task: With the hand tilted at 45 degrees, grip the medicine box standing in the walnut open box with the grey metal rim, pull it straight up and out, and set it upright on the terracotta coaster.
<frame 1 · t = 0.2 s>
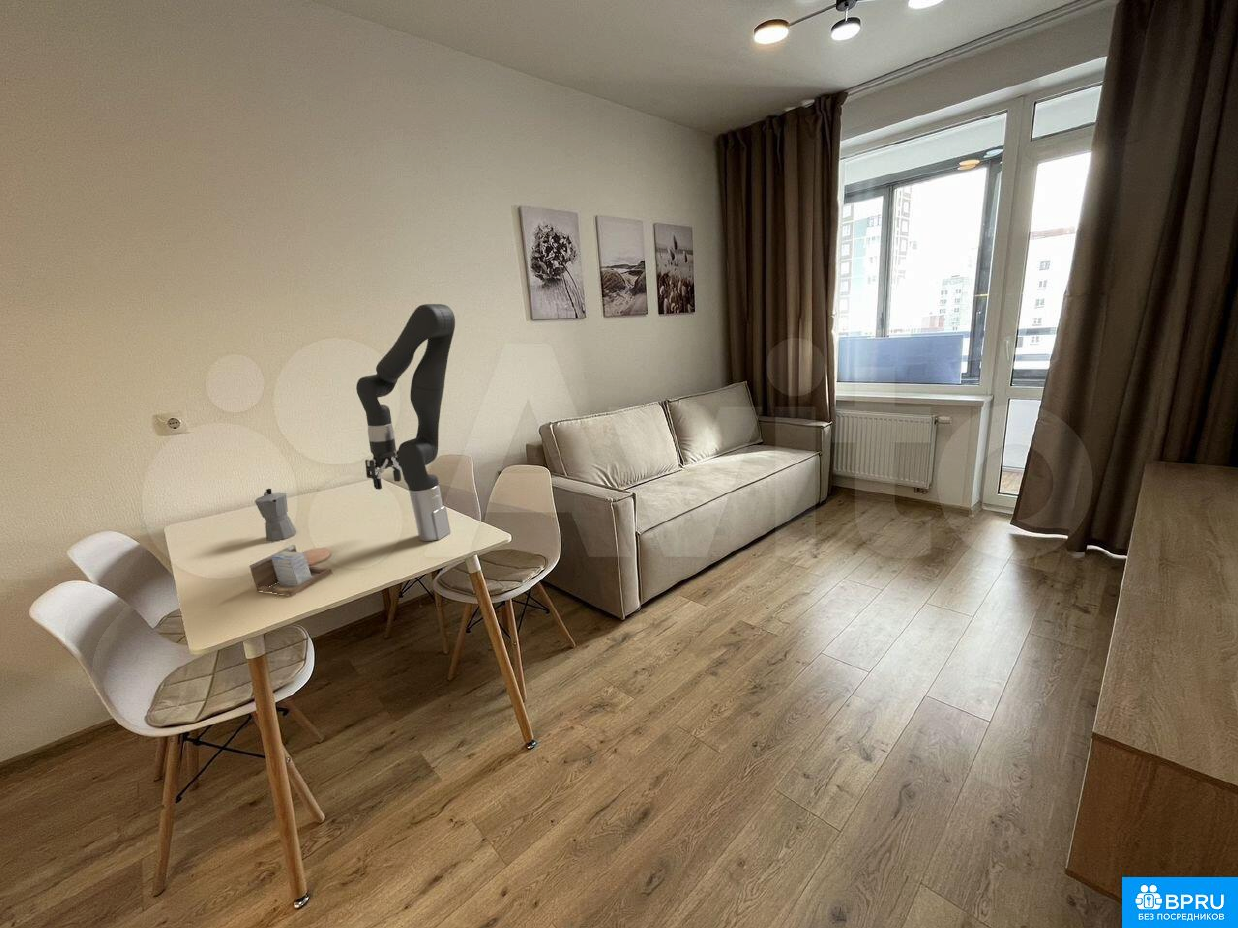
hand: (388, 485, 168), 18 cm above the table, tool pointing down, fingers open, 8 cm apart
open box: (295, 582, 144), on the table
coffeepot: (281, 536, 181), on the table
medicine box: (296, 583, 144), resting in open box
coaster: (309, 559, 159), on the table
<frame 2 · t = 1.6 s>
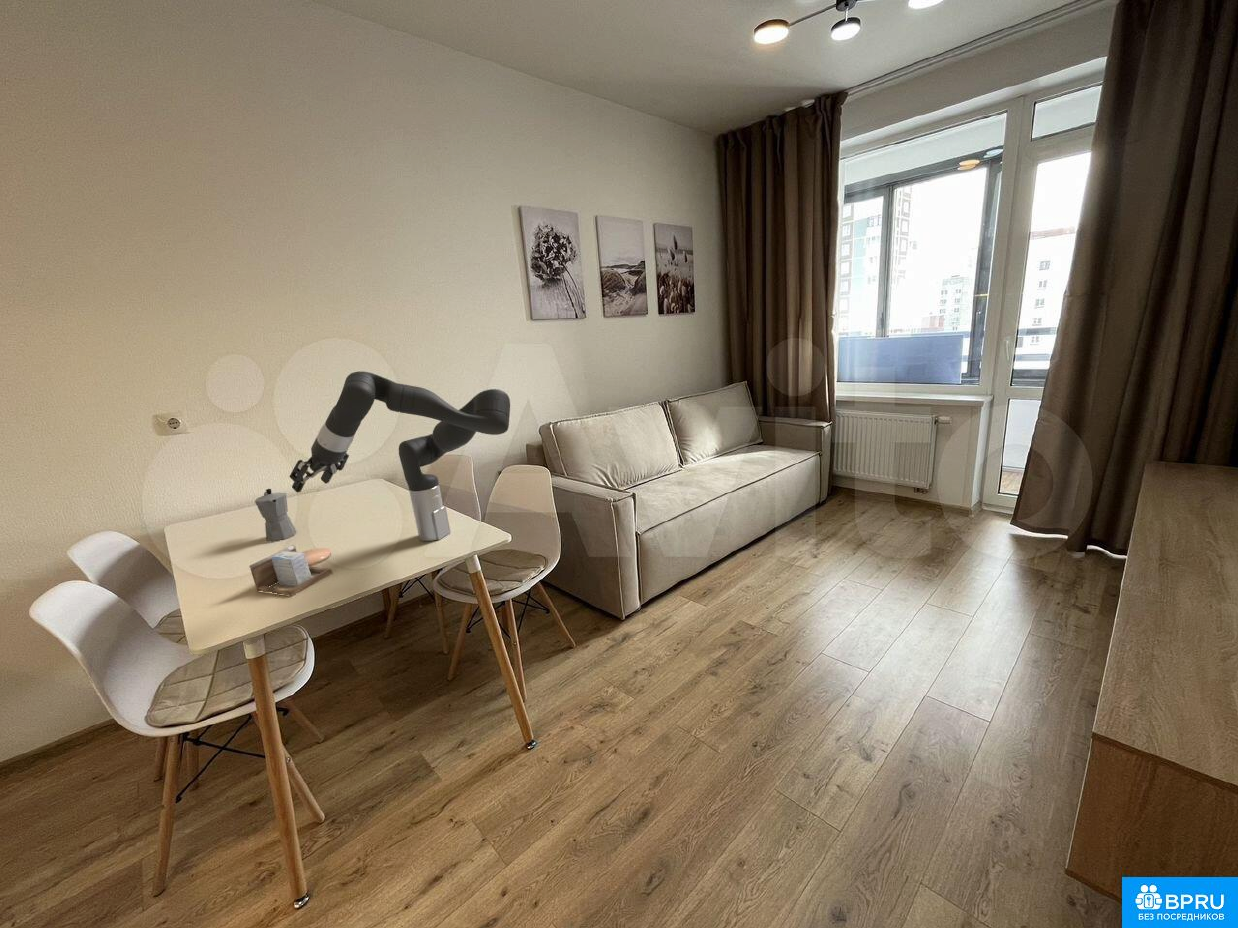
hand: (310, 485, 133), 29 cm above the table, tool tilted 45°, fingers open, 8 cm apart
nothing on the table moved.
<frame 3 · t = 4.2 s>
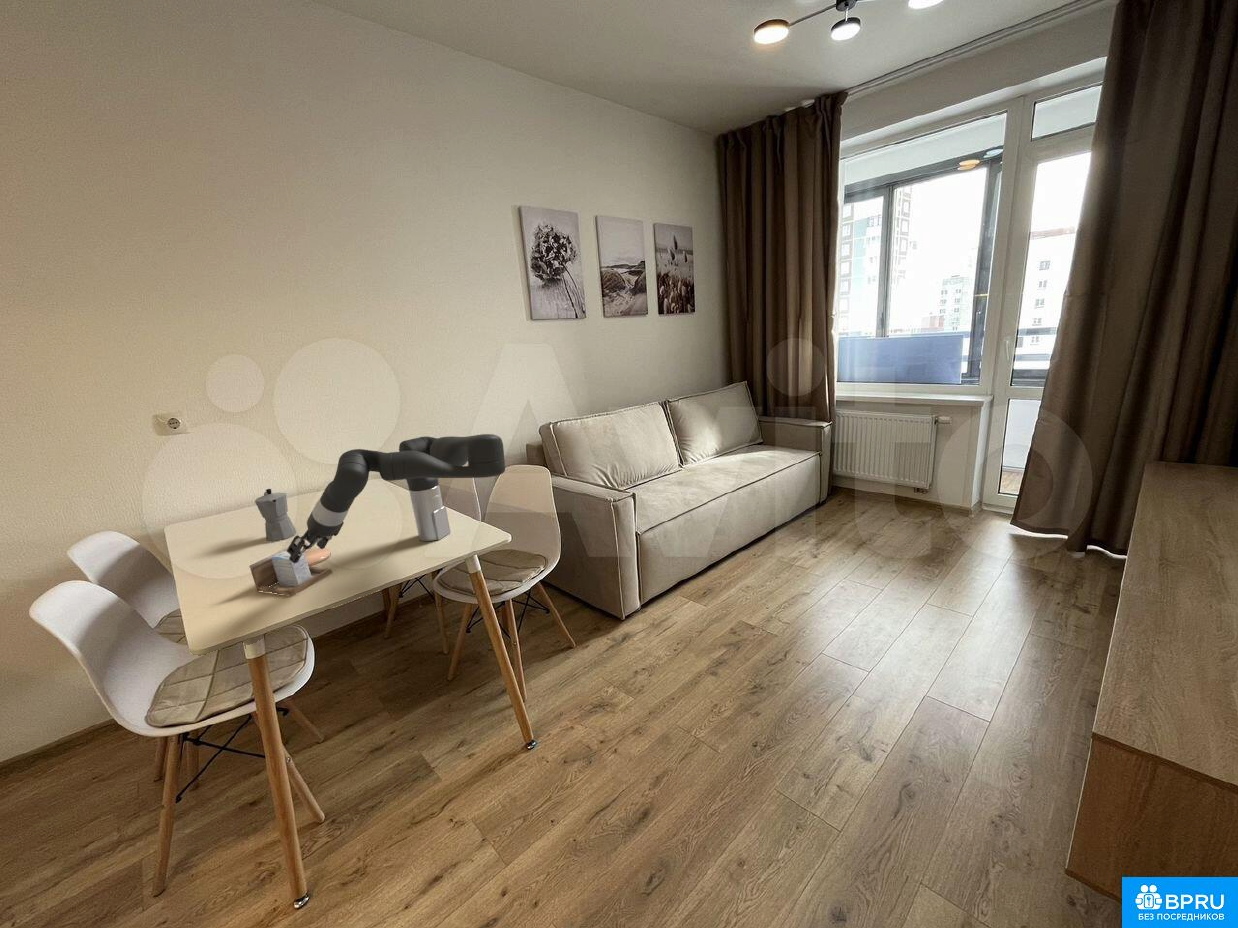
hand: (307, 553, 137), 10 cm above the table, tool tilted 45°, fingers open, 8 cm apart
nothing on the table moved.
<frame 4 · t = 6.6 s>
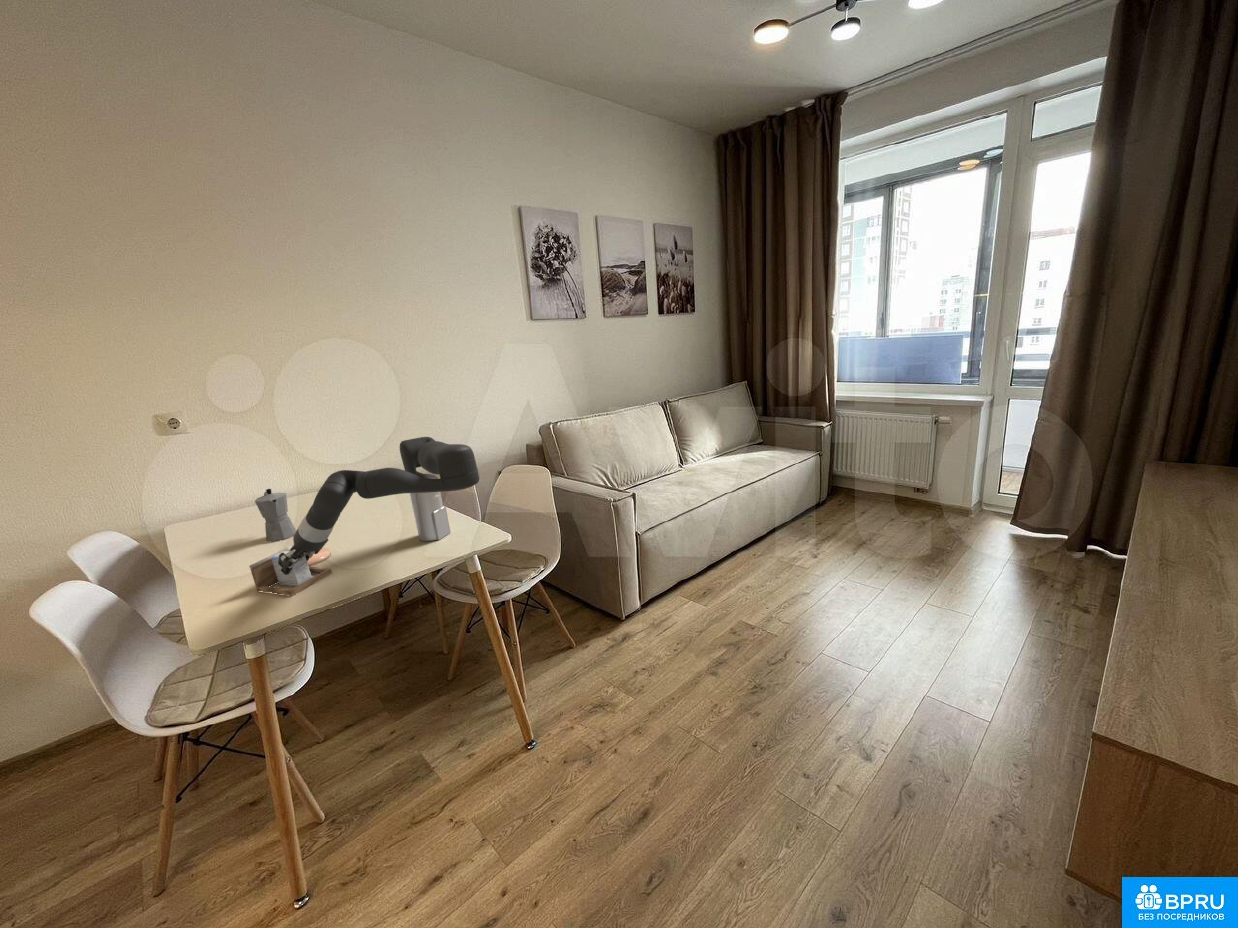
hand: (293, 567, 142), 5 cm above the table, tool tilted 45°, fingers closed on medicine box, 4 cm apart
medicine box: (296, 583, 144), resting in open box, touching gripper
everything else where it was.
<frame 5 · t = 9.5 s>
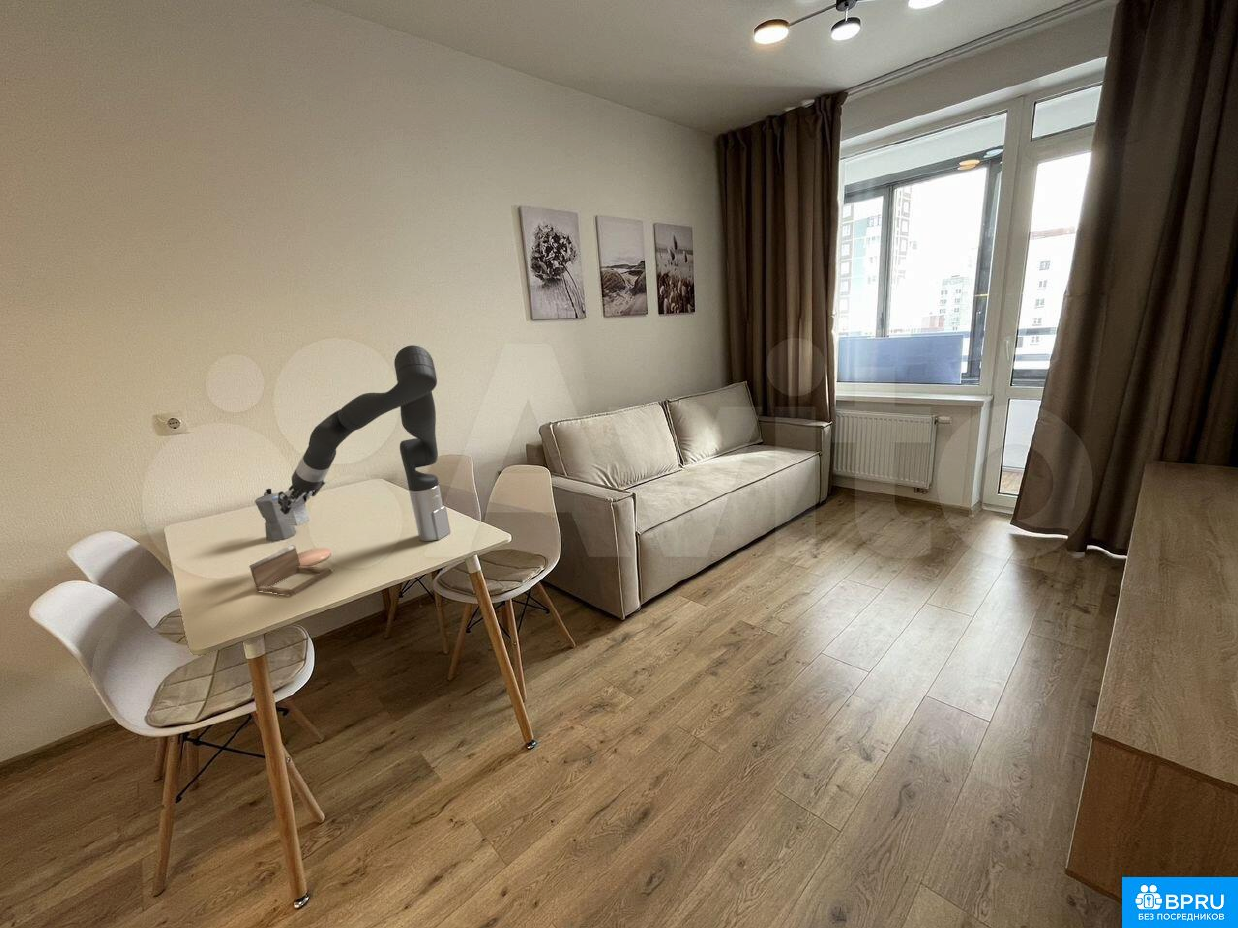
hand: (291, 508, 151), 18 cm above the table, tool tilted 45°, fingers closed on medicine box, 4 cm apart
medicine box: (294, 523, 152), point 13 cm above the table, touching gripper
everything else where it was.
when the fingers open (7 cm above the table, at t = 12.3 s): medicine box drops 1 cm, resting on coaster.
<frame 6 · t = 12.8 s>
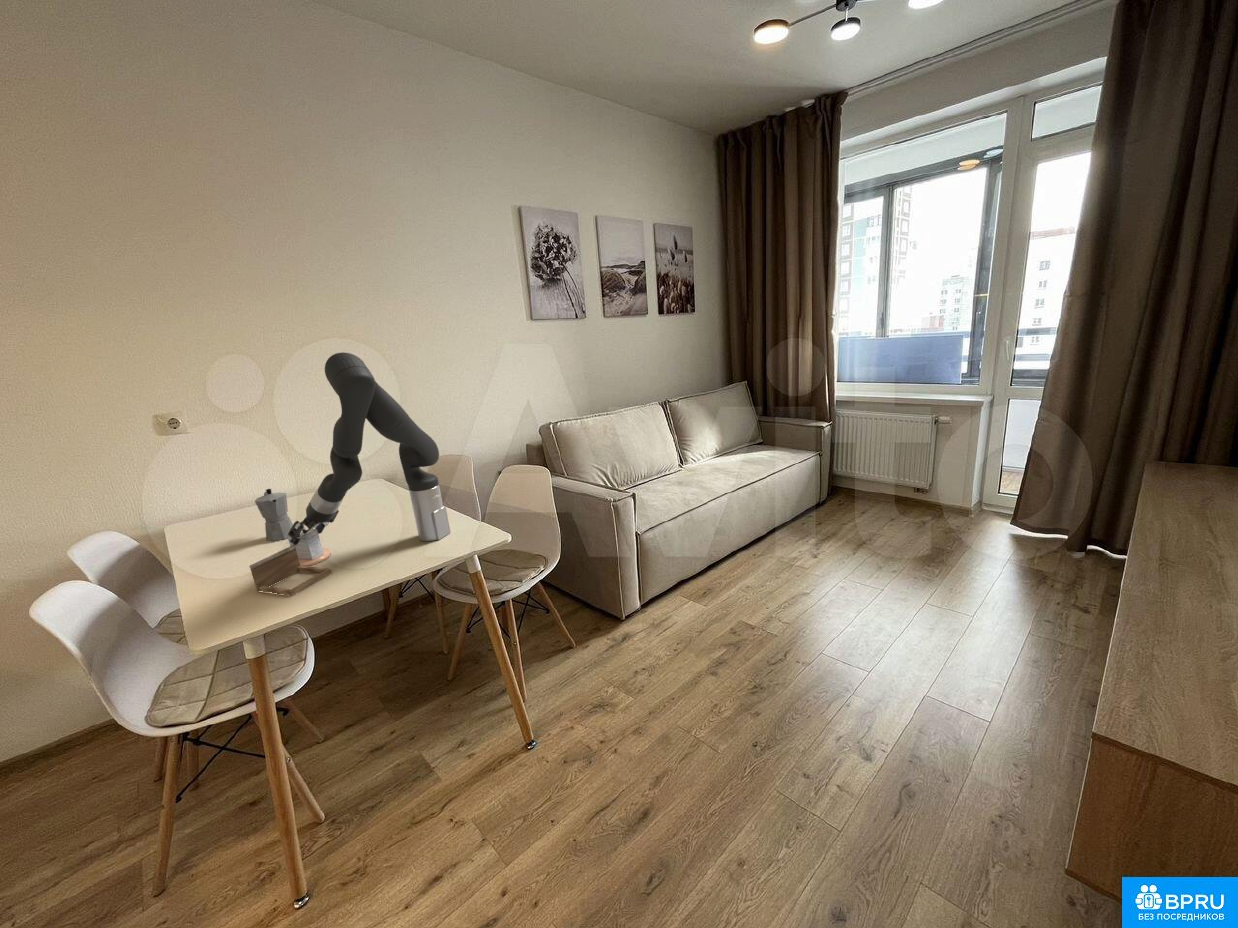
hand: (306, 537, 156), 8 cm above the table, tool tilted 45°, fingers open, 8 cm apart
medicine box: (309, 557, 158), point 1 cm above the table, touching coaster
everything else where it was.
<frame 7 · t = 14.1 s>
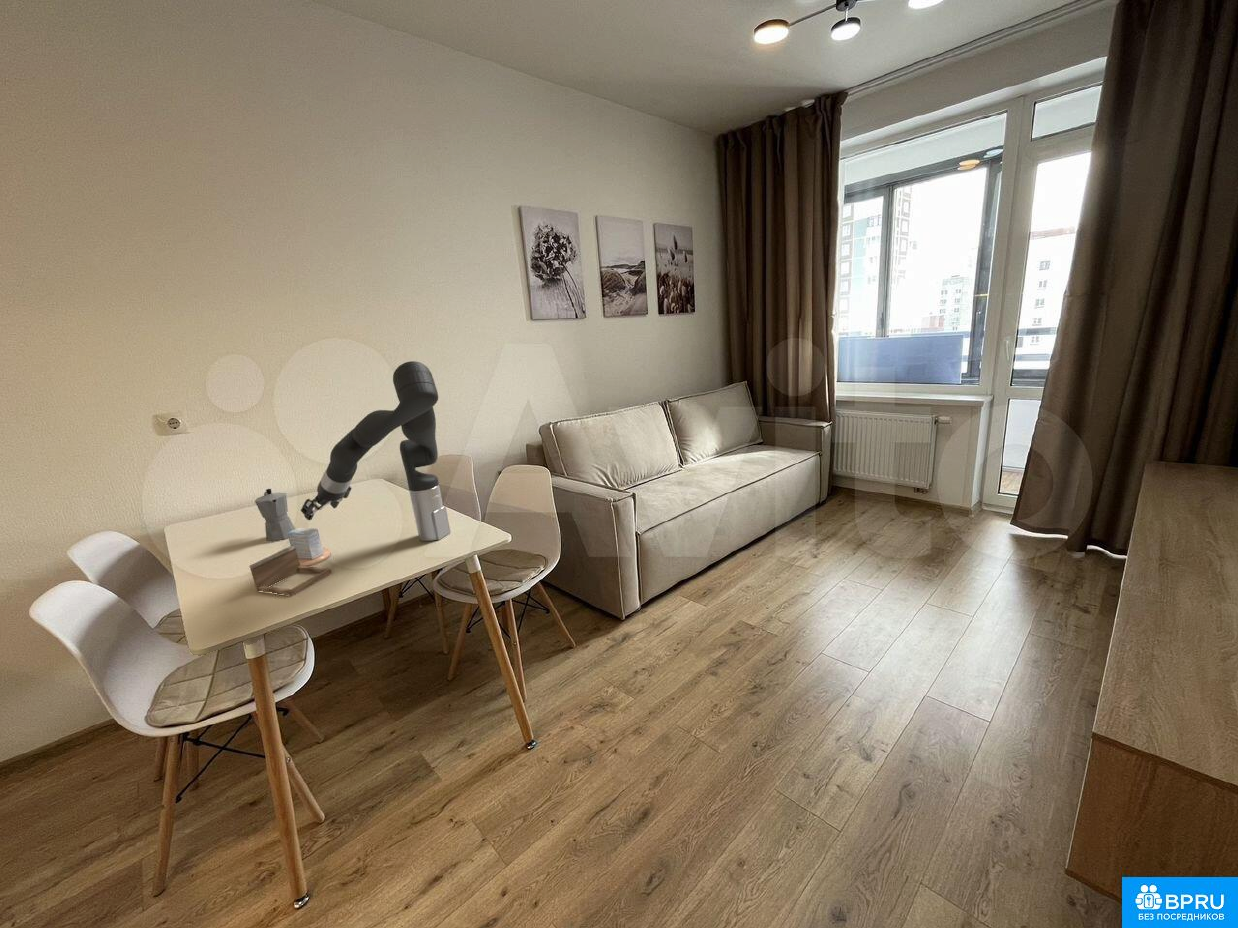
hand: (320, 511, 158), 14 cm above the table, tool tilted 50°, fingers open, 8 cm apart
nothing on the table moved.
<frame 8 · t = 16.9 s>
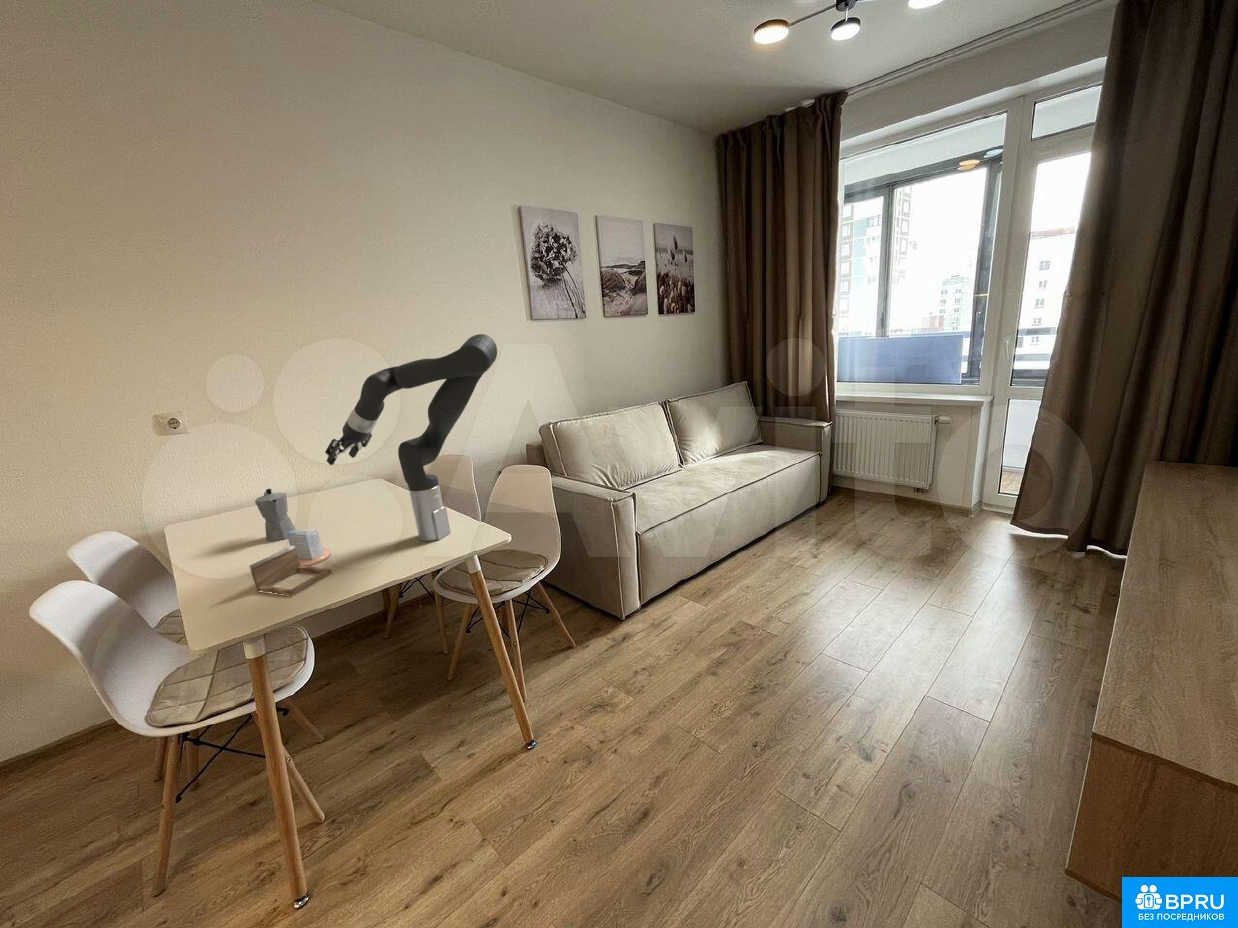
hand: (340, 459, 162), 29 cm above the table, tool tilted 45°, fingers open, 8 cm apart
nothing on the table moved.
at the end: medicine box inside the target area on the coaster (0.2 cm from its centre), point 0.8 cm above the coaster's base; medicine box tilted 0°; the gripper is holding nothing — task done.
